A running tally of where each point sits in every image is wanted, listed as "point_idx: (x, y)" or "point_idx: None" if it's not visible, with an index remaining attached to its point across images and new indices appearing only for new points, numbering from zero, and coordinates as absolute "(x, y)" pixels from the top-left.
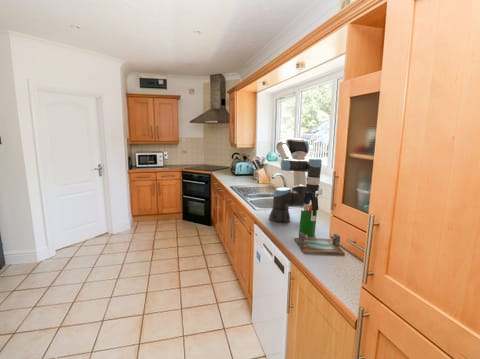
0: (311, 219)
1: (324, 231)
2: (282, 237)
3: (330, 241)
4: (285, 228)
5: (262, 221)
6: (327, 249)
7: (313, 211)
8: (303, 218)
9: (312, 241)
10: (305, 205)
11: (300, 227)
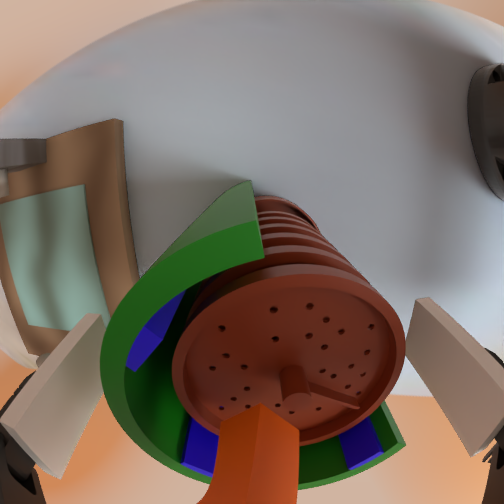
0: (78, 327)
1: None
2: (164, 40)
3: None
4: (371, 98)
5: (454, 9)
6: (18, 292)
7: (8, 419)
8: (183, 232)
9: (68, 241)
10: (494, 397)
11: (236, 188)
